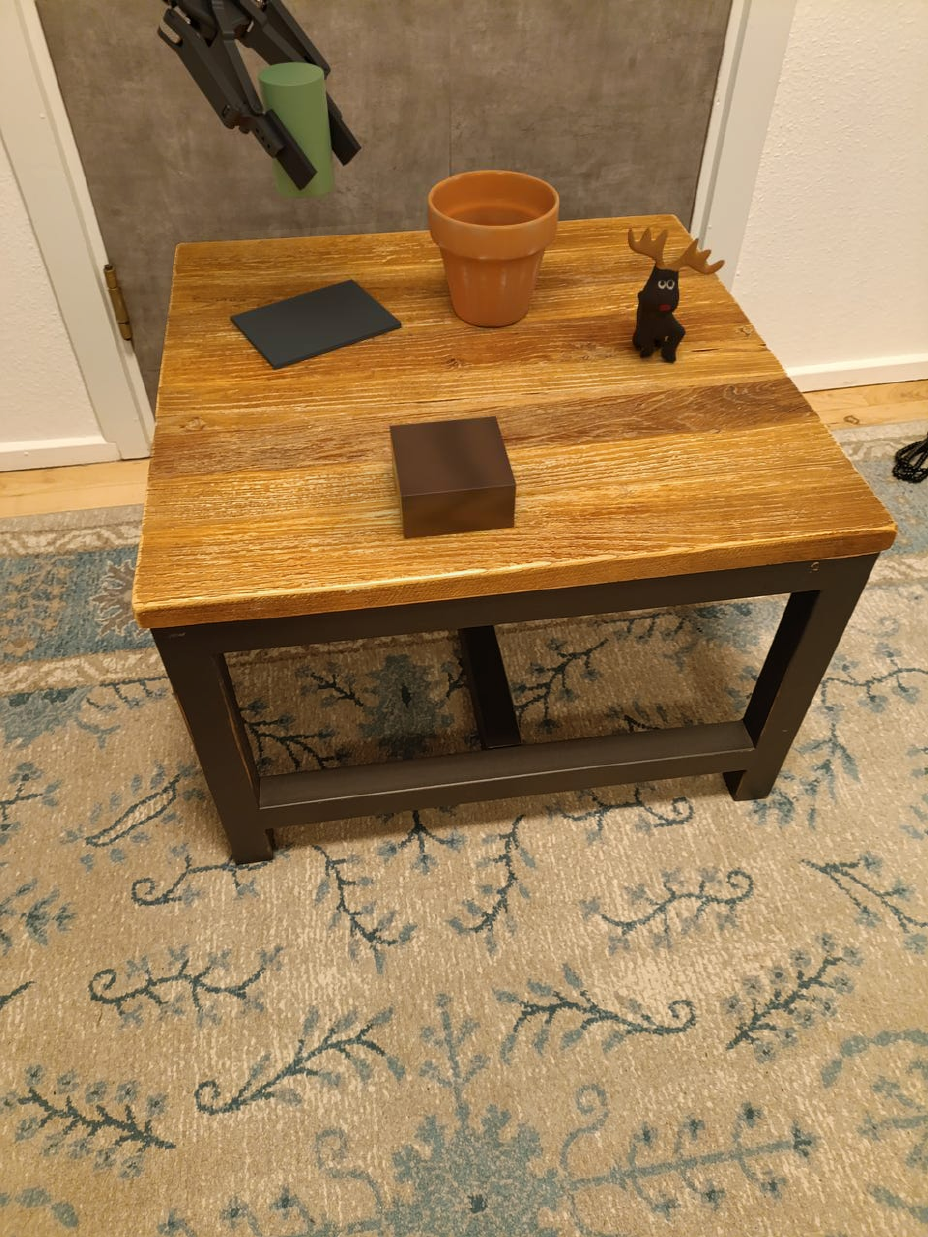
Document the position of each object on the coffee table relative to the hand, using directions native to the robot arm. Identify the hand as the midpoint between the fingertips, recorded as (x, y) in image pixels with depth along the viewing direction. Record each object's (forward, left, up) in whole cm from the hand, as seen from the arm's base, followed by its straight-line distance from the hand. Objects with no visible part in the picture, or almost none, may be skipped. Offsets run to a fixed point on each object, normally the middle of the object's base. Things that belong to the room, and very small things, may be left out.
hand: (330, 168), depth 86 cm
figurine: (+28, -20, -19) cm, 39 cm away
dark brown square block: (-4, -28, -19) cm, 34 cm away
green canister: (-1, +3, -2) cm, 4 cm away
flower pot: (+18, -2, -19) cm, 26 cm away
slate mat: (-1, +6, -19) cm, 20 cm away
